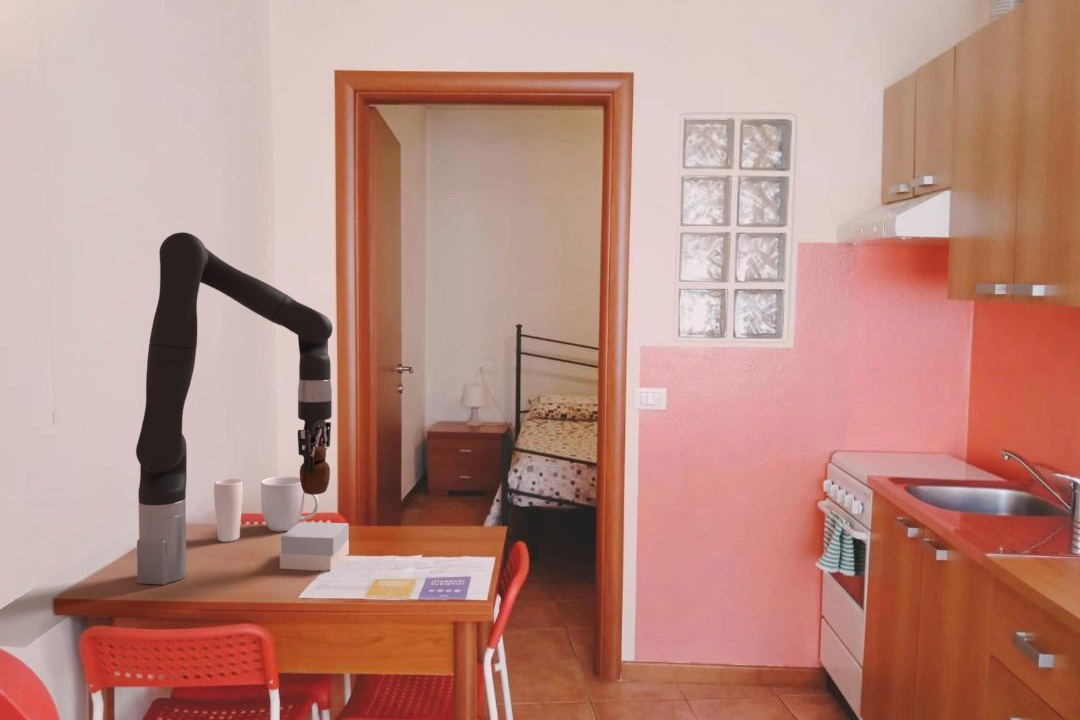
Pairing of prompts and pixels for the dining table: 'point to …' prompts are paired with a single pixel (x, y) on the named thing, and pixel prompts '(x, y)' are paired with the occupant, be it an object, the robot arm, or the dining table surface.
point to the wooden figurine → (316, 473)
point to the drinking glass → (228, 508)
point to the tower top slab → (315, 538)
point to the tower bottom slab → (313, 560)
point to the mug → (283, 502)
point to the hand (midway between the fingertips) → (314, 469)
